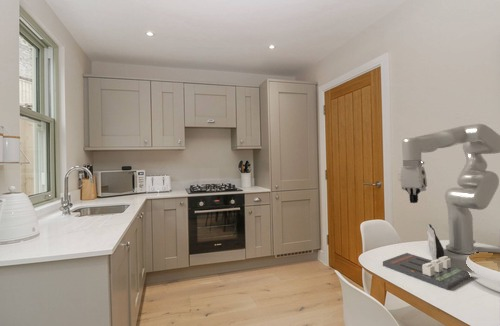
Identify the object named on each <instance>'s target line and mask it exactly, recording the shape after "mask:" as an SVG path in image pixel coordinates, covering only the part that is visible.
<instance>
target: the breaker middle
mask: <svg viewBox="0 0 500 326" xmlns="http://www.w3.org/2000/svg"><path fill="white" fill-rule="evenodd" d="M431 263H432V265H434V266H435V271H436V272H441V271H443V262H441V261H440V260H439V259H436V260H433V259H432V261H431Z"/></svg>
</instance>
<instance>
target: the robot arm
mask: <svg viewBox="0 0 500 326" xmlns="http://www.w3.org/2000/svg"><path fill="white" fill-rule="evenodd" d="M457 145H462V150H463V152H464V155H465V159H466V160H465V161H466V162H465V164H464V166H463V168H462V169H461V171H460V173H459V175H458V177H457V179H456V181H457V182H456V183H457V185H458V186H459V187H451V188H448V189H447V190H446V191H445V194H444V200H445V204H446V207H447V216H448V219H447V221H448V240H449V241H448V242H449V244H446V245H445V248H446V250H448V251H450V252H452V253H456V254H461V255H472V254H471V253H475V252H478V253H479V250H478V249H477V248H476V247H475V245H474V244H475V243H476V240H475V239H474V222H473V220H474V218H473V214H472V212H471V210H479V211H481V210H485V209H487V208H488V207H489V205H490V204H491V201H492V199H493V198H494V195H495V194H496V192H497V190H498V188H499V186H500V179H499V176H498V174H497V173H495V172H493V171H490V170H487V168H488V162H487V161H486V159H485V158H484V157H483V156H482V155H486V154H487V155H488V154H499V153H500V134H499V133H497V132H496V131H495V130H493V128H491V127H489V126H488V125H486V124H483V123H476V124H474V123H473V124H468V125H467V124H466V125H460V126H456V127H452V128H449V129H444V130H440V131H436V132H433V133H432V132H431V133H429V134H428V133H427V134H423V135H419V136H415V137H407V138H406V137H405V138H403V139H402V140H401V151H402V153H401V154H402V167H401V171H400V186H401V190H403V191H405V192H407V194H408V195H409V196H408V197H409V203H410V204H417V203H418V201H419V194H420V193H421V192H425V191H427V189H426V187H428V181H427V180H428V179H427V173H426V170H425V167H424V166H423V165H425V161H423V160H422V153H433V152H435V151H437V150H438V149H444V148H451V147H454V146H457ZM470 209H471V210H470Z"/></svg>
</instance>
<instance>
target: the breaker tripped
mask: <svg viewBox="0 0 500 326" xmlns="http://www.w3.org/2000/svg"><path fill="white" fill-rule="evenodd" d="M422 271H423V274H425V275H428V276H433V275H435V266H434V265H432V263H426V264H423V265H422Z"/></svg>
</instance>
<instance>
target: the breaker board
mask: <svg viewBox="0 0 500 326" xmlns="http://www.w3.org/2000/svg"><path fill="white" fill-rule="evenodd" d="M431 261H433V259H432V260H431V259H429V258H424V257H423V256H418V255H415V254H412V253H408V252H406V253H403V254H400V255H397V256H395V257H391V258H389V259H386V260H383V261H382V267H385V268H388V269H390V270H394V271H395V272H399V273H401V274H403V275H407V276H409V277H412V278H415V279H416V280H420V281H422V282H425V283H428V284H430V285H433V286H435V287H439V288H441V289H443V290H446V291H449V290H450V289H452V288H454V287H456V286H458V285H459V284H461V282H462V283H463V281H464V282H465V280H466V281H467V280H469V279H471V278H470V275H469V273H468V272H467V271H468V270H464V269H462V268H458V267H456V266H452V265H451V267H450V268H448V269H446V268H443V271H441V272H436V271H435V275H433V276H428V275H425V274H423V271H422V265H423V264H426V263H431Z"/></svg>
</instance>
